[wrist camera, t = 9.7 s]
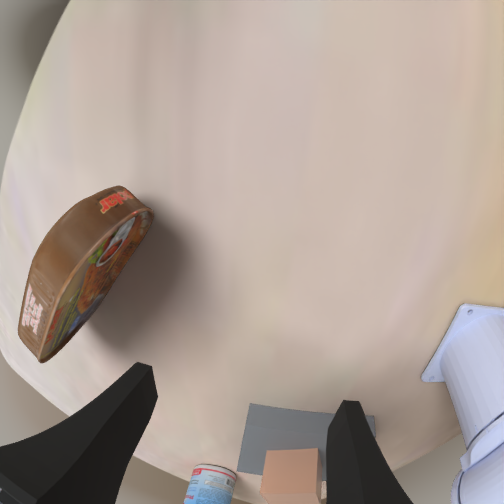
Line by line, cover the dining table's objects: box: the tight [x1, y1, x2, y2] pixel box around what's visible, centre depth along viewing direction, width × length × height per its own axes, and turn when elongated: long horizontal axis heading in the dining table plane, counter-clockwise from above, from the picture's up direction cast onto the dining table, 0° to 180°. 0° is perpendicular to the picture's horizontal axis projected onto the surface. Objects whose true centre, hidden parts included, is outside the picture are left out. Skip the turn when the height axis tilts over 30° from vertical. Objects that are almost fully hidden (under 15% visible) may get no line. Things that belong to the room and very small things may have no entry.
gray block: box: [237, 403, 376, 481], centre depth 27 cm, size 12×12×3 cm
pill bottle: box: [183, 464, 236, 504], centre depth 30 cm, size 6×6×11 cm
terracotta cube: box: [260, 448, 322, 504], centre depth 23 cm, size 5×5×5 cm
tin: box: [18, 186, 154, 363], centre depth 17 cm, size 15×3×8 cm, turn 139°
